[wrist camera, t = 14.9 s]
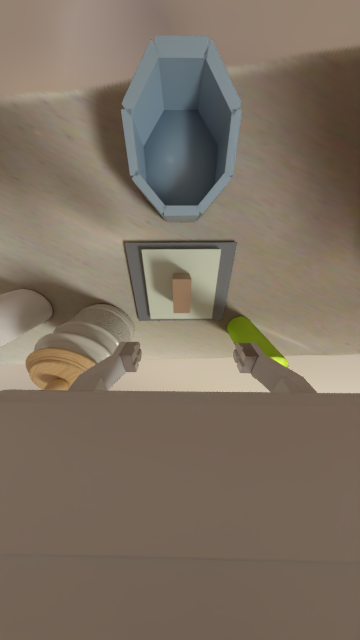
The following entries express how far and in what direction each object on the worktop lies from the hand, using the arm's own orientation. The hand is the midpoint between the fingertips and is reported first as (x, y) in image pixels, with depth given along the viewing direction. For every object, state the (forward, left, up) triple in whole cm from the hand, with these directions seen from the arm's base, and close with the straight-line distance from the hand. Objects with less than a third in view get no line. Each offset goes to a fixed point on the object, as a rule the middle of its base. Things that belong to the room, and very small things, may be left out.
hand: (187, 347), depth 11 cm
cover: (0, 0, -19) cm, 19 cm away
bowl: (0, -17, -19) cm, 26 cm away
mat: (0, 0, -19) cm, 19 cm away
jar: (+18, +10, -19) cm, 29 cm away
